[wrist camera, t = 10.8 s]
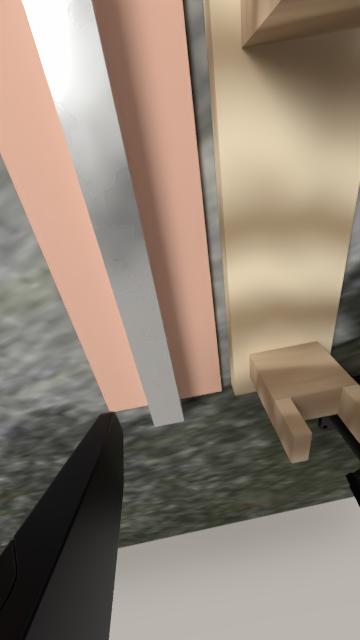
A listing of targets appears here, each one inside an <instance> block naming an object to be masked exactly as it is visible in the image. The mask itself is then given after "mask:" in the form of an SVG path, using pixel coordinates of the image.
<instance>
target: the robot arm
mask: <svg viewBox="0 0 360 640" xmlns="http://www.w3.org/2000/svg"><path fill="white" fill-rule="evenodd" d="M353 379H354V380H355V381H356V382H357V383H358V384H359V386H360V376H359V377H354V378H353ZM318 426H319V427H320V429H321V430H328V429H333V428H337V430H338V431H339V432H340V434H341V435H342V437H343V438H344V439H345V441H346V442H347V444H348V445H349V446H350V448H351V449H352V451H353V452H354V453H355V455H356V456H357V457H358V459H359V460H360V443H359V442H358V441H357V439H356V438H355V437H354V435H353V434H352V433H351V432H350V430H349V429H348V428H347V426H346V425H345V424H344V422H343V421H342V420H341V418H340V417H339V416H338V414H335V415H329V416H324V417H320V418H319V424H318ZM346 478H347V480H348V482H349V484H350V488H351V490H352V492H353V494H354V496H355V498H356V500H357V502H358V504H359V506H360V469H359V470H357V471H355V472H353V473H349V474H347V475H346ZM123 487H124V465H123V430H122V427H121V425H120V422H119V420H118V418H117V415H116V413H115V412H114V411H111V412H106V413H102V414H100V415H99V416H98V418H97V419H96V421H95V422H94V424H93V425H92V426H91V428H90V429H89V431H88V432H87V433H86V435H85V436H84V438H83V439H82V440H81V442H80V443H79V445H78V446H77V448H76V449H75V450H74V452H73V453H72V455H71V456H70V457H69V459H68V460H67V462H66V463H65V464H64V466H63V467H62V469H61V470H60V472H59V473H58V474H57V476H56V477H55V479H54V480H53V481H52V483H51V484H50V486H49V487H48V488H47V490H46V491H45V493H44V494H43V496H42V497H41V498H40V500H39V501H38V503H37V504H36V505H35V507H34V508H33V510H32V511H31V513H30V514H29V515H28V517H27V518H26V520H25V521H24V522H23V524H22V525H21V527H20V528H19V529H18V531H17V532H16V534H15V535H14V539H12V540H11V541H10V542H9V543H8V545H7V546H6V548H5V549H4V550H3V552H2V553H1V555H0V640H109V631H110V621H111V611H112V601H113V590H114V581H115V571H116V560H117V551H118V540H119V530H120V520H121V510H122V500H123Z"/></svg>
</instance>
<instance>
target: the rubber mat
mask: <svg viewBox="0 0 360 640" xmlns="http://www.w3.org/2000/svg"><path fill="white" fill-rule="evenodd" d="M95 4H96V8H97V13H98V17H99V22H100V27H101V31H102V36H103V41H104V45H105V50H106V54H107V59H108V64H109V68H110V73H111V78H112V82H113V87H114V91H115V96H116V101H117V105H118V110H119V115H120V119H121V124H122V128H123V133H124V138H125V142H126V147H127V152H128V156H129V161H130V166H131V170H132V175H133V179H134V184H135V189H136V193H137V198H138V203H139V207H140V212H141V216H142V221H143V226H144V230H145V235H146V240H147V244H148V249H149V253H150V258H151V263H152V267H153V272H154V277H155V281H156V286H157V290H158V295H159V300H160V304H161V309H162V314H163V318H164V323H165V327H166V332H167V337H168V341H169V346H170V351H171V355H172V360H173V364H174V369H175V374H176V378H177V383H178V388H179V392H180V397H181V399H183V398H188V397H193V396H199V395H204V394H209V393H214V392H219V391H222V387H221V378H220V368H219V358H218V348H217V338H216V328H215V318H214V308H213V298H212V289H211V279H210V269H209V259H208V249H207V239H206V229H205V219H204V209H203V199H202V190H201V180H200V170H199V160H198V150H197V140H196V130H195V120H194V110H193V101H192V91H191V81H190V71H189V61H188V51H187V41H186V31H185V21H184V12H183V2H182V0H95ZM0 153H1V155H2V158H3V160H4V162H5V165H6V167H7V170H8V172H9V174H10V177H11V179H12V181H13V184H14V186H15V188H16V191H17V193H18V196H19V198H20V200H21V203H22V205H23V207H24V210H25V212H26V214H27V217H28V219H29V222H30V224H31V226H32V229H33V231H34V233H35V236H36V238H37V240H38V243H39V245H40V248H41V250H42V252H43V255H44V257H45V259H46V262H47V264H48V266H49V269H50V271H51V274H52V276H53V278H54V281H55V283H56V285H57V288H58V290H59V292H60V295H61V297H62V300H63V302H64V304H65V307H66V309H67V311H68V314H69V316H70V318H71V321H72V323H73V326H74V328H75V330H76V333H77V335H78V337H79V340H80V342H81V344H82V347H83V349H84V352H85V354H86V356H87V359H88V361H89V363H90V366H91V368H92V370H93V373H94V375H95V378H96V380H97V382H98V385H99V387H100V389H101V392H102V394H103V396H104V399H105V401H106V404H107V406H108V408H109V411H110V412H111V411H114V412H116V411H121V410H126V409H131V408H136V407H142V406H147V405H148V403H147V400H146V397H145V393H144V390H143V387H142V384H141V381H140V377H139V374H138V371H137V368H136V365H135V361H134V358H133V355H132V352H131V348H130V345H129V342H128V339H127V336H126V332H125V329H124V326H123V323H122V319H121V316H120V313H119V310H118V307H117V303H116V300H115V297H114V294H113V291H112V287H111V284H110V281H109V278H108V274H107V271H106V268H105V265H104V262H103V258H102V255H101V252H100V249H99V245H98V242H97V239H96V236H95V233H94V229H93V226H92V223H91V220H90V217H89V213H88V210H87V207H86V204H85V200H84V197H83V194H82V191H81V188H80V184H79V181H78V178H77V175H76V171H75V168H74V165H73V162H72V159H71V155H70V152H69V149H68V146H67V143H66V139H65V136H64V133H63V130H62V126H61V123H60V120H59V117H58V114H57V110H56V107H55V104H54V101H53V97H52V94H51V91H50V88H49V85H48V81H47V78H46V75H45V72H44V69H43V65H42V62H41V59H40V56H39V52H38V49H37V46H36V43H35V40H34V36H33V33H32V30H31V27H30V23H29V20H28V17H27V14H26V11H25V7H24V4H23V1H22V0H0Z"/></svg>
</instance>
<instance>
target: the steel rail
mask: <svg viewBox="0 0 360 640" xmlns="http://www.w3.org/2000/svg"><path fill="white" fill-rule="evenodd" d="M22 1H23V4H24V7H25V11H26V14H27V17H28V20H29V23H30V27H31V30H32V33H33V36H34V40H35V43H36V46H37V49H38V52H39V56H40V59H41V62H42V65H43V69H44V72H45V75H46V78H47V81H48V85H49V88H50V91H51V94H52V97H53V101H54V104H55V107H56V110H57V114H58V117H59V120H60V123H61V126H62V130H63V133H64V136H65V139H66V143H67V146H68V149H69V152H70V155H71V159H72V162H73V165H74V168H75V171H76V175H77V178H78V181H79V184H80V188H81V191H82V194H83V197H84V200H85V204H86V207H87V210H88V213H89V217H90V220H91V223H92V226H93V229H94V233H95V236H96V239H97V242H98V245H99V249H100V252H101V255H102V258H103V262H104V265H105V268H106V271H107V274H108V278H109V281H110V284H111V287H112V291H113V294H114V297H115V300H116V303H117V307H118V310H119V313H120V316H121V319H122V323H123V326H124V329H125V332H126V336H127V339H128V342H129V345H130V348H131V352H132V355H133V358H134V361H135V365H136V368H137V371H138V374H139V377H140V381H141V384H142V387H143V390H144V393H145V397H146V400H147V403H148V406H149V410H150V413H151V416H152V419H153V422H154V426H155V427H156V426H161V425H167V424H172V423H177V422H182V421H184V416H183V410H182V403H181V397H180V392H179V388H178V383H177V378H176V374H175V369H174V364H173V360H172V355H171V351H170V346H169V341H168V337H167V332H166V327H165V323H164V318H163V314H162V309H161V304H160V300H159V295H158V290H157V286H156V281H155V277H154V272H153V267H152V263H151V258H150V253H149V249H148V244H147V240H146V235H145V230H144V226H143V221H142V216H141V212H140V207H139V203H138V198H137V193H136V189H135V184H134V179H133V175H132V170H131V166H130V161H129V156H128V152H127V147H126V142H125V138H124V133H123V128H122V124H121V119H120V115H119V110H118V105H117V101H116V96H115V91H114V87H113V82H112V78H111V73H110V68H109V64H108V59H107V54H106V50H105V45H104V41H103V36H102V31H101V27H100V22H99V17H98V13H97V8H96V4H95V0H22Z"/></svg>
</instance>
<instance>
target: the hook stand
mask: <svg viewBox="0 0 360 640" xmlns="http://www.w3.org/2000/svg"><path fill="white" fill-rule="evenodd" d="M203 3H204V17H205V30H206V44H207V58H208V71H209V85H210V98H211V112H212V125H213V139H214V152H215V166H216V180H217V193H218V207H219V220H220V234H221V247H222V261H223V274H224V288H225V302H226V315H227V329H228V342H229V356H230V369H231V383H232V388H233V390H234V393H235V396H236V395H241V394H246V393H251V392H256V391H257V393H258V395H259V397H260V400H261V402H262V404H263V406H264V408H265V410H266V412H267V414H268V416H269V418H270V420H271V422H272V424H273V426H274V428H275V430H276V433H277V435H278V437H279V439H280V441H281V443H282V445H283V447H284V449H285V451H286V453H287V455H288V457H289V459H290V461H291V463H296V462H301V461H306V460H308V457H309V450H310V444H311V438H312V432H311V431H310V429H309V427H308V426H307V424H306V423H305V421H304V420H309V419H314V418H319V417H324V416H329V415H335V414H338V416H339V417H340V418H341V420H342V421H343V422H344V424H345V425H346V426H347V428H348V429H349V430H350V432H351V433H352V434H353V435H354V437H355V438H356V439H357V441H358V442H359V443H360V386H359V384H358V383H357V382H356V381H355V380H354V379H353V378H352V377H351V376H350V375H349V374H348V373H347V372H346V371H345V370H344V369H343V368H342V367H341V366H340V365H339V364H338V363H337V362H336V361H335V359H334V358H333V357H332V356H331V355H330V353H331V347H332V341H333V335H334V330H335V324H336V318H337V312H338V306H339V300H340V295H341V289H342V283H343V277H344V271H345V265H346V260H347V254H348V248H349V242H350V236H351V230H352V225H353V219H354V213H355V207H356V201H357V195H358V190H359V184H360V0H203Z"/></svg>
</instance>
